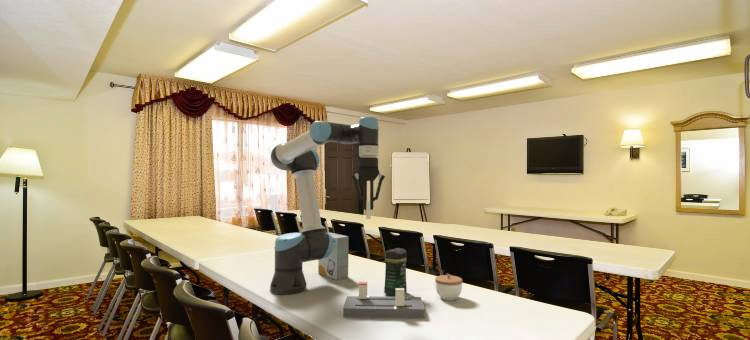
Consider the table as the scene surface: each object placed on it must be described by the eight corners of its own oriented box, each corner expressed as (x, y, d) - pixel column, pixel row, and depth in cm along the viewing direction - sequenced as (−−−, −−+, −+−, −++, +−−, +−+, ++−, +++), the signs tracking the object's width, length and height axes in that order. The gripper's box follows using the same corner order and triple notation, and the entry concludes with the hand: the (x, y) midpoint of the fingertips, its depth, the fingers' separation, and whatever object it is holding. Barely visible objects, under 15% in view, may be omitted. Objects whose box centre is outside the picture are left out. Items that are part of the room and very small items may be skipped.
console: (342, 317, 125) (342, 308, 125) (346, 303, 139) (347, 295, 139) (424, 318, 125) (424, 309, 125) (420, 304, 138) (420, 296, 138)
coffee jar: (397, 298, 145) (398, 251, 146) (381, 294, 150) (381, 249, 150) (409, 292, 153) (409, 247, 154) (393, 288, 158) (393, 245, 158)
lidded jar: (429, 298, 146) (429, 274, 146) (444, 292, 154) (444, 269, 154) (453, 304, 138) (453, 279, 139) (467, 297, 146) (467, 274, 146)
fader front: (395, 305, 127) (395, 290, 127) (395, 303, 129) (395, 288, 129) (404, 306, 127) (404, 290, 127) (403, 303, 129) (403, 288, 129)
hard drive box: (317, 273, 182) (317, 233, 183) (330, 271, 188) (330, 232, 188) (336, 280, 171) (336, 237, 171) (349, 277, 176) (349, 235, 177)
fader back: (358, 298, 134) (358, 283, 134) (359, 296, 137) (359, 282, 137) (366, 298, 134) (366, 283, 134) (367, 296, 137) (367, 282, 137)
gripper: (350, 156, 137) (350, 219, 137) (385, 156, 137) (385, 219, 137) (352, 157, 145) (352, 217, 144) (385, 157, 145) (385, 217, 144)
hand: (368, 218), depth 141 cm, fingers closed
